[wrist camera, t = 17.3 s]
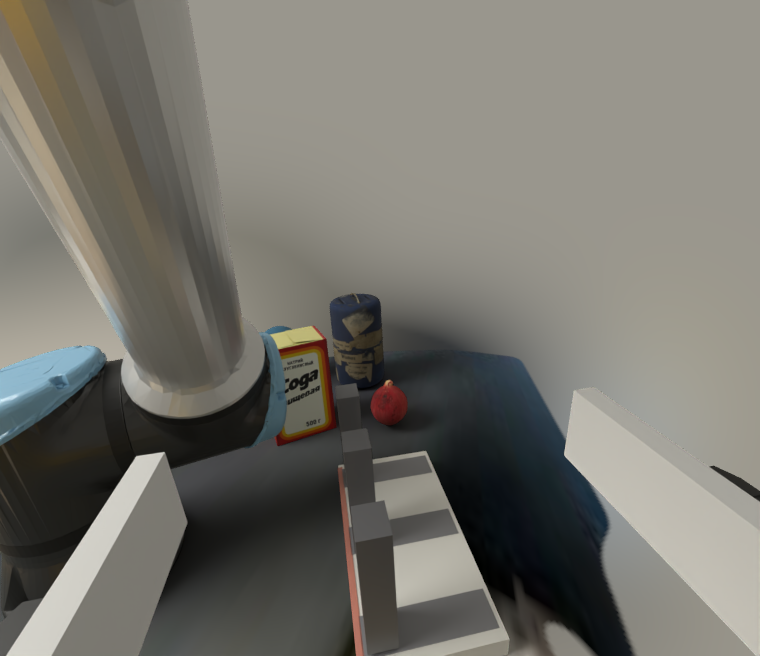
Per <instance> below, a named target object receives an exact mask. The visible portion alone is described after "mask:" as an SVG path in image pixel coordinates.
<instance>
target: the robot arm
mask: <svg viewBox="0 0 760 656" xmlns="http://www.w3.org/2000/svg"><path fill="white" fill-rule="evenodd" d="M0 140H1V142H2V143H3V145H4V147H5V148H6V150H7V152H8V153H9V155H10V156H11V158H12V160H13V162H14V163H15V165H16V166H17V168H18V170H19V172H20V173H21V175H22V176H23V178H24V180H25V181H26V183H27V185H28V186H29V188H30V190H31V191H32V193H33V195H34V196H35V198H36V200H37V201H38V203H39V205H40V206H41V208H42V210H43V211H44V213H45V215H46V216H47V218H48V220H49V221H50V223H51V225H52V226H53V228H54V230H55V231H56V233H57V235H58V236H59V238H60V240H61V241H62V243H63V245H64V246H65V248H66V250H67V251H68V253H69V255H70V256H71V258H72V259H73V261H74V262H75V264H76V266H77V268H78V270H79V271H80V273H81V275H82V276H83V278H84V280H85V281H86V283H87V284H88V286H89V288H90V289H91V291H92V293H93V294H94V296H95V298H96V299H97V301H98V303H99V304H100V306H101V308H102V309H103V311H104V313H105V314H106V316H107V318H108V319H109V321H110V323H111V324H112V326H113V328H114V329H115V331H116V333H117V334H118V336H119V338H120V339H121V341H122V343H123V344H124V346H125V348H126V349H127V351H126V353H125V356H124V358H123V359H120V360H115V361H106V360H107V358H106V355H105V354H104V353H102V352H101V350H100V349H99V348H97V347H95V346H84V347H82V346H74V347H68V348H63V349H59V350H55V351H51V352H47V353H44V354H41V355H38V356H35V357H32V358H29V359H26V360H23V361H20V362H17V363H15V364H13V365H10V366H7V367H5V368H2V369H0V552H1V554H2V566H1V608H2V613H3V616H4V618H5V619H4V620H3V621H2V622H1V623H0V656H138V655H139V653H140V650H141V647H142V645H143V642H144V639H145V636H146V634H147V631H148V628H149V626H150V623H151V620H152V617H153V615H154V612H155V609H156V607H157V604H158V601H159V598H160V596H161V593H162V590H163V588H164V585H165V582H166V580H167V577H168V574H169V571H170V569H171V568H172V566H173V565H174V563H175V561H176V559H177V557H178V555H179V553H180V551H181V548H182V544H183V540H184V531H185V528H186V525H187V523H188V522H187V519H186V516H185V513H184V510H183V507H182V504H181V501H180V497H179V494H178V491H177V488H176V485H175V482H174V479H173V476H172V473H171V470H170V469H174V468H177V467H180V466H184V465H187V464H190V463H194V462H197V461H201V460H204V459H207V458H211V457H214V456H217V455H221V454H224V453H228V452H231V451H234V450H238V449H241V448H251V447H254V446H256V445H257V444H258V443H260V442H262V441H265V440H268V439H271V438H273V437H275V436H277V435H278V434H279V433H280V432H281V430H282V429H283V426H284V424H285V420H286V412H287V399H286V395H285V389H286V388H285V377H284V371H283V365H282V361H281V357H280V354H279V351H278V347H277V345H276V342H275V340H274V339H273V337H272V336H271V335H269V334H267V333H264V332H261V333H259V332H258V331H257V329H256V328H255V327H254V326H253V325H252V324H251V323H250V322H249V321H248V320H246V319H245V318H243V317H242V314H241V308H240V303H239V297H238V291H237V285H236V279H235V274H234V268H233V262H232V256H231V250H230V245H229V240H228V233H227V227H226V221H225V216H224V211H223V204H222V198H221V192H220V187H219V181H218V175H217V169H216V163H215V158H214V152H213V146H212V140H211V134H210V129H209V124H208V117H207V111H206V105H205V100H204V94H203V89H202V82H201V77H200V71H199V65H198V59H197V53H196V48H195V42H194V36H193V31H192V24H191V18H190V14H189V7H188V1H187V0H0ZM564 456H565V457H566V458H567V459H568V460H569V461H570V462H571V463H572V464H573V465H574V466H575V467H576V468H577V469H578V470H579V471H580V472H581V474H582V475H583V476H584V477H585V478H586V479H587V480H588V481H589V482H590V483H591V484H592V485H593V486H594V487H595V488H596V489H597V490H598V491H599V492H600V493H601V494H602V495H603V496H604V498H605V499H606V500H607V501H608V502H609V503H610V504H611V505H612V506H613V507H614V508H615V509H616V510H617V511H618V512H619V513H620V514H621V515H622V516H623V517H624V518H625V519H626V520H627V522H628V523H629V524H630V525H631V526H632V527H633V528H634V529H635V530H636V531H637V532H638V533H639V534H640V535H641V536H642V537H643V538H644V539H645V540H646V541H647V542H648V543H649V545H650V546H652V548H653V549H654V550H655V551H656V552H657V553H658V554H659V555H660V556H661V557H662V558H663V559H664V560H665V561H666V562H667V563H668V564H669V565H670V566H671V567H672V569H673V570H675V572H676V573H677V574H678V575H679V576H680V577H681V578H682V579H683V580H684V581H685V582H686V583H687V584H688V585H689V586H690V587H691V588H692V589H693V590H694V591H695V593H696V594H697V595H698V596H699V597H700V598H701V599H702V600H703V601H704V602H705V603H706V604H707V605H708V606H709V607H710V608H711V609H712V610H713V611H714V612H715V613H716V614H717V615H718V617H719V618H720V619H722V621H723V622H724V623H725V624H726V625H727V626H728V627H729V628H730V629H731V630H732V631H733V632H734V633H735V634H736V635H737V636H738V637H739V638H740V639H741V640H742V641H743V643H744V644H745V645H746V646H747V647H748V648H749V649H750V650H751V651H752V652H753V653H754V654H755V655H756V656H760V491H759V490H757V489H756V488H754V487H753V486H752V485H750V484H749V483H747V482H745V481H744V480H743V479H741V478H739V477H737V476H735V475H733V474H731V473H728V472H726V471H724V470H722V469H720V468H718V467H715V466H710V467H709V466H707V465H706V464H704V463H703V462H701V461H700V460H699V459H697V458H696V457H694V456H693V455H691V454H690V453H688V452H687V451H686V450H684V449H683V448H681V447H680V446H678V445H677V444H676V443H674V442H672V441H671V440H670V439H668V438H667V437H665V436H664V435H662V434H661V433H660V432H658V431H657V430H655V429H654V428H652V427H651V426H650V425H648V424H647V423H645V422H644V421H642V420H641V419H639V418H638V417H637V416H635V415H634V414H632V413H631V412H629V411H628V410H626V409H625V408H624V407H622V406H621V405H619V404H618V403H616V402H615V401H613V400H612V399H611V398H609V397H608V396H606V395H605V394H603V393H602V392H601V391H599V390H598V389H596V388H595V387H591V388H584V389H577V390H574V392H573V399H572V406H571V412H570V419H569V426H568V432H567V439H566V445H565V452H564Z"/></svg>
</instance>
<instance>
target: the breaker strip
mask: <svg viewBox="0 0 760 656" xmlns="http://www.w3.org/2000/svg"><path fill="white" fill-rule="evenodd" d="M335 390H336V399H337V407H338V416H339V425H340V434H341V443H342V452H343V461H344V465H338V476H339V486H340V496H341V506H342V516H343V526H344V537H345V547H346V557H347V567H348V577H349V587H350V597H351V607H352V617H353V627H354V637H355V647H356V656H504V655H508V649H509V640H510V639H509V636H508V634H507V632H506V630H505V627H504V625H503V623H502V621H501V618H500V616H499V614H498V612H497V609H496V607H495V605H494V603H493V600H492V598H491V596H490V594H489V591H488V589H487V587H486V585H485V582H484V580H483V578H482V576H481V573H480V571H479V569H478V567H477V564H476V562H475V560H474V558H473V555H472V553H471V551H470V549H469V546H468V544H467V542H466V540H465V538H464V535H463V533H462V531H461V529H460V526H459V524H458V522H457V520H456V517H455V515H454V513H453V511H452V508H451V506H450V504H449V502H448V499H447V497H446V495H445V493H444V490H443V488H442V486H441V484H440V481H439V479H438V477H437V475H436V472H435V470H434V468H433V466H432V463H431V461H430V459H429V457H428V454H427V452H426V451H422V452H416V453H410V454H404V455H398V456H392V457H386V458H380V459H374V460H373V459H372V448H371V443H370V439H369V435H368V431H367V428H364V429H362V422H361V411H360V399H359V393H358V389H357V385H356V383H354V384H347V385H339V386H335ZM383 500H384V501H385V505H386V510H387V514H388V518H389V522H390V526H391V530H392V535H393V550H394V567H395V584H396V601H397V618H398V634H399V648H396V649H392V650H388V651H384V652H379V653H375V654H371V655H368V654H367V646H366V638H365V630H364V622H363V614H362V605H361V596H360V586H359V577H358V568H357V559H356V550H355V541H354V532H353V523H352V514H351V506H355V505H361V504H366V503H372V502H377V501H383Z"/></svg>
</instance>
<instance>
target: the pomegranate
mask: <svg viewBox="0 0 760 656" xmlns="http://www.w3.org/2000/svg"><path fill="white" fill-rule="evenodd" d="M371 411H372V413H373V416H374V417H375V419H376V420H378V421H379V422H380V423H382V424H385V425H393V424H396V423H397V422H399V421H400V420H402V419H403V417H404V416H405V414H406V412H407V398H406V396H405V394H404V393H403V392H402V391H401V390H400V389H399V388H398V387H396V386H393V382H392V381H391V380H388V381H386V382H385V384H384V386H382V387H380V388H379V389H378V390H377V391H376V392H375V393H374V395H373V397H372V401H371Z"/></svg>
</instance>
